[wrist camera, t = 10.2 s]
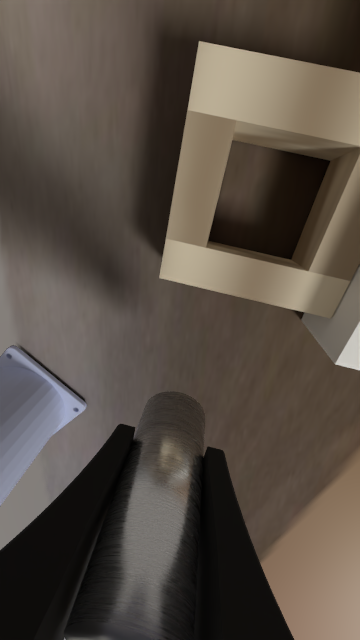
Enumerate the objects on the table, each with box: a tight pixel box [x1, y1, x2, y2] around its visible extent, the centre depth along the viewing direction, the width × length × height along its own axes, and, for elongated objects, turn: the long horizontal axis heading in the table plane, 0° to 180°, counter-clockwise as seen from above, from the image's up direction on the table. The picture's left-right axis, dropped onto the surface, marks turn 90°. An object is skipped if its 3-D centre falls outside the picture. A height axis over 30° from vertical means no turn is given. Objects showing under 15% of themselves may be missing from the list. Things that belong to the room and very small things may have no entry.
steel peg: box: [64, 392, 205, 640], centre depth 9 cm, size 3×3×7 cm
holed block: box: [159, 41, 360, 319], centre depth 12 cm, size 9×9×3 cm
